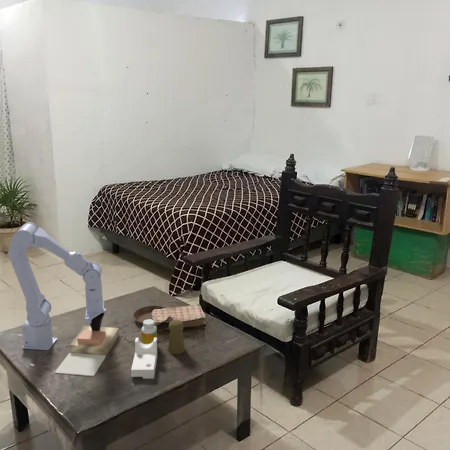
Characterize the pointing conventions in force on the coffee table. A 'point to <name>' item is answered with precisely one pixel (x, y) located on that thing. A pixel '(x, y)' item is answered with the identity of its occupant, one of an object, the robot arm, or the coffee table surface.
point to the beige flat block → (96, 349)
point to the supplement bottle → (148, 331)
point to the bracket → (144, 359)
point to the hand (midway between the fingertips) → (96, 332)
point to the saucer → (144, 313)
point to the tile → (91, 337)
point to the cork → (176, 337)
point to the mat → (80, 364)
